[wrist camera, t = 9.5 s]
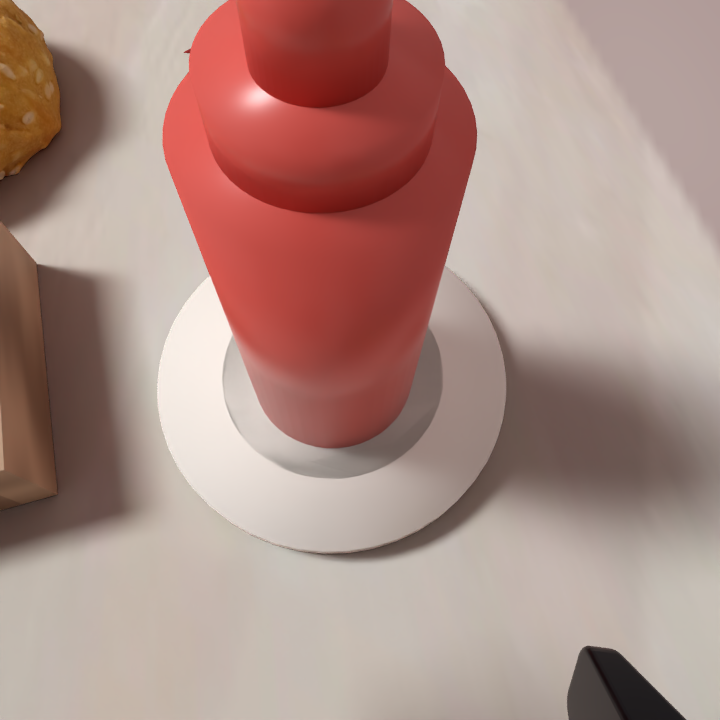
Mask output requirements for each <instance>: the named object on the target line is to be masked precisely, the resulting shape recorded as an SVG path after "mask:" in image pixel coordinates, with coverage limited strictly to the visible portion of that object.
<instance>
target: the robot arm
mask: <svg viewBox="0 0 720 720" xmlns="http://www.w3.org/2000/svg"><path fill="white" fill-rule="evenodd" d="M567 709H568V717H569V720H686V719H685V718H684V717H683V716H682V715H681V714H680V713H679V712H678V711H677V710H676V709H675V708H674V707H673V706H672V705H671V704H670V703H669V702H668V701H667V700H666V699H665V698H664V697H663V696H662V695H661V694H660V693H659V692H658V691H657V690H656V689H655V688H654V687H653V686H652V685H651V684H650V683H649V682H648V681H647V680H646V679H645V678H644V677H643V676H642V675H641V674H640V673H639V672H638V671H637V670H636V669H635V668H634V667H633V666H632V665H631V664H630V663H629V662H628V661H627V660H626V659H625V658H624V657H623V656H622V655H621V654H620V653H619V652H617V651H616V650H613V649H609V648H602V647H594V646H585V647H583V648H582V650H581V651H580V653H579V656H578V660H577V663H576V666H575V670H574V673H573V677H572V680H571V683H570V687H569V690H568V696H567Z"/></svg>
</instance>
